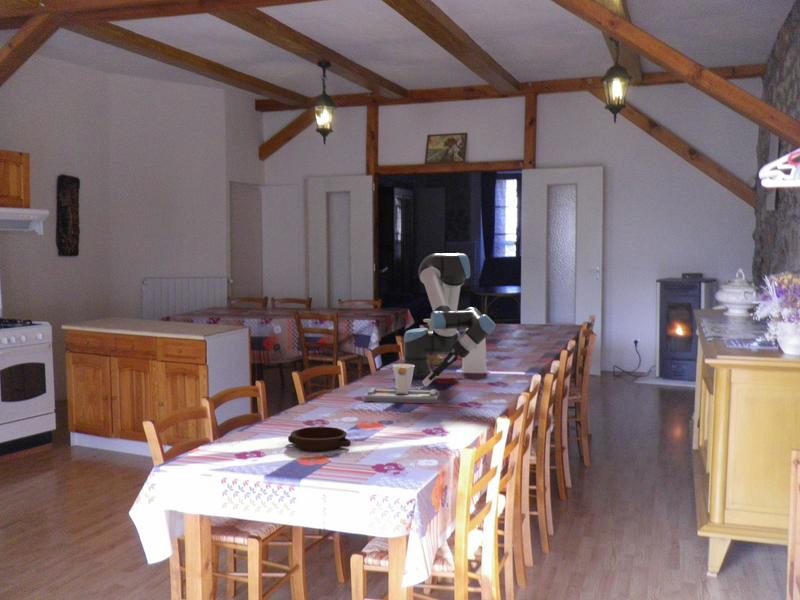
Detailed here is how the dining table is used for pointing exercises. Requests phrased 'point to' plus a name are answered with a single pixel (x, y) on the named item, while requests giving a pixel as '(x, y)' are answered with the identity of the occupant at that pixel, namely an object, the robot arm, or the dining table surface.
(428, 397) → the switch panel
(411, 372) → the cup
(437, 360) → the candle holder
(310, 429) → the dish
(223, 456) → the dining table surface
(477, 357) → the milk
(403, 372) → the lever
